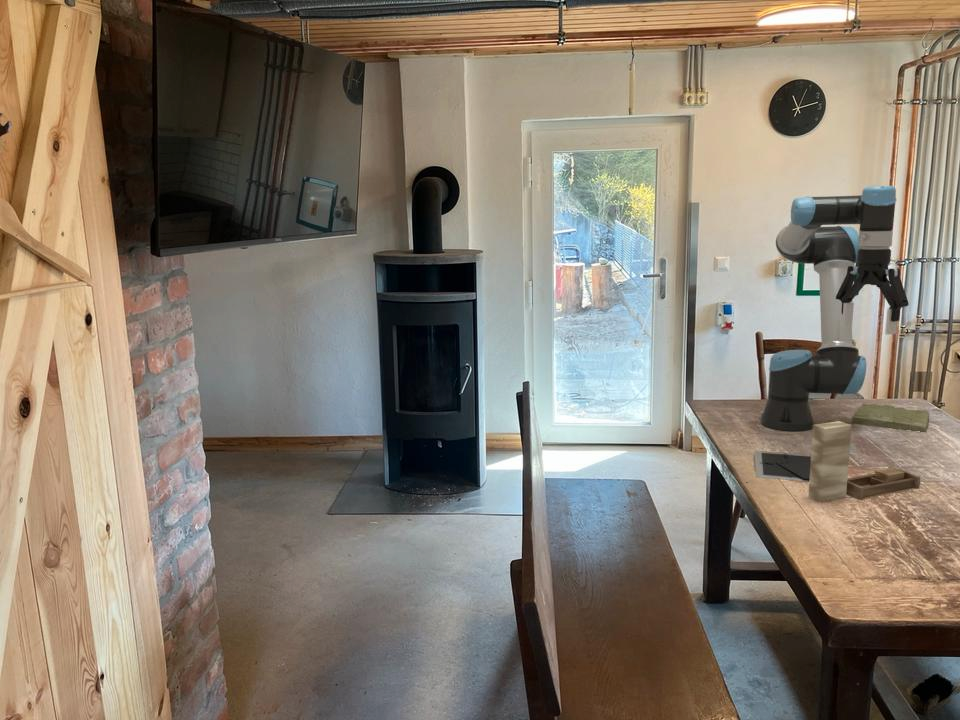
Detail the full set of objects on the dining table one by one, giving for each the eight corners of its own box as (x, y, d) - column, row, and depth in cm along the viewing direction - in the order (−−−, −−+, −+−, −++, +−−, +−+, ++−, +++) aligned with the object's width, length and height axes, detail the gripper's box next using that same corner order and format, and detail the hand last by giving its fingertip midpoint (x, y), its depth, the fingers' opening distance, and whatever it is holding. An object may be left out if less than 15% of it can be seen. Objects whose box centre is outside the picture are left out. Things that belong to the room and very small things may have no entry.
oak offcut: (874, 484, 170) (875, 470, 169) (890, 481, 171) (891, 467, 171) (886, 489, 167) (888, 475, 166) (902, 486, 168) (904, 472, 167)
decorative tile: (925, 434, 211) (926, 423, 211) (850, 425, 223) (851, 414, 222) (931, 419, 226) (932, 409, 225) (860, 411, 238) (861, 401, 237)
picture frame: (825, 490, 172) (817, 462, 191) (826, 479, 171) (817, 452, 190) (755, 484, 177) (754, 457, 196) (756, 473, 177) (754, 447, 196)
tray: (831, 492, 169) (833, 476, 168) (889, 481, 174) (890, 466, 174) (859, 504, 161) (861, 488, 161) (918, 492, 167) (920, 476, 166)
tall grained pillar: (808, 500, 164) (813, 424, 160) (833, 495, 166) (839, 421, 163) (819, 505, 160) (825, 429, 157) (845, 500, 163) (851, 425, 159)
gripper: (824, 247, 192) (819, 325, 196) (906, 250, 169) (899, 338, 173) (846, 246, 194) (841, 323, 198) (930, 249, 171) (922, 336, 175)
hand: (868, 330), depth 185 cm, fingers open, 13 cm apart
